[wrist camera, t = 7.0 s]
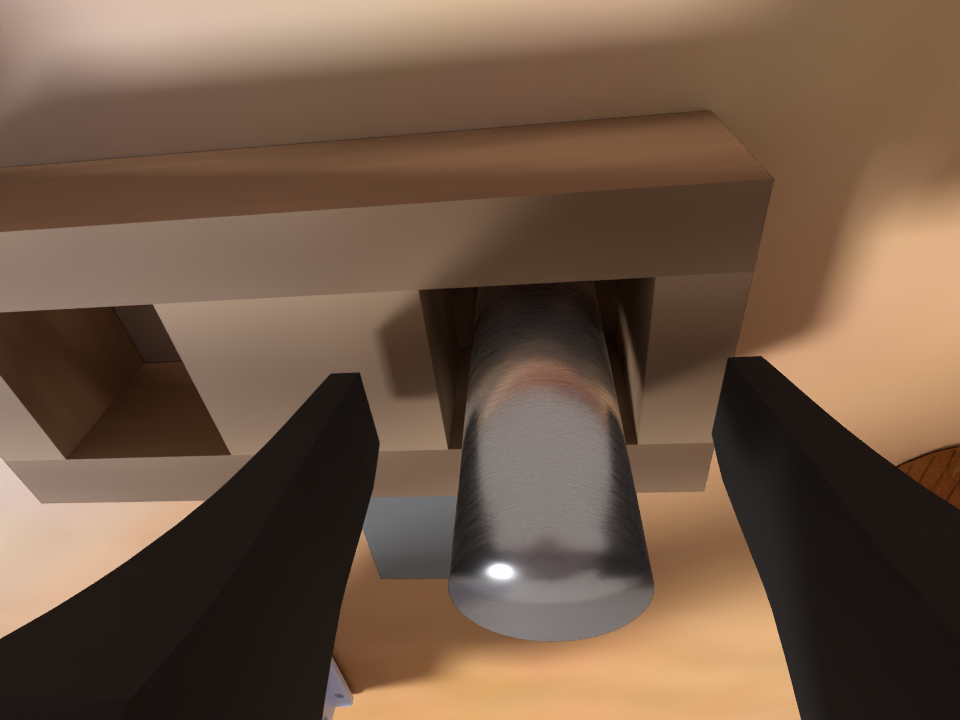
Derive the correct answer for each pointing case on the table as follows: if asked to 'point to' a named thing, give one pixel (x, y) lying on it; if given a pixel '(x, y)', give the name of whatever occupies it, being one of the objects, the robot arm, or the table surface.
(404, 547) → the mat
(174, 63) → the table surface
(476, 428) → the peg
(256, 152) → the socket block
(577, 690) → the table surface
